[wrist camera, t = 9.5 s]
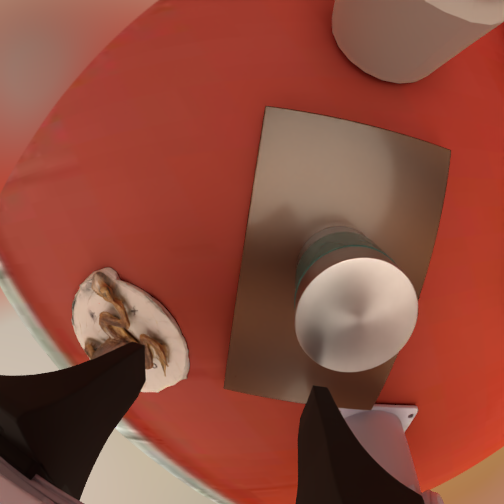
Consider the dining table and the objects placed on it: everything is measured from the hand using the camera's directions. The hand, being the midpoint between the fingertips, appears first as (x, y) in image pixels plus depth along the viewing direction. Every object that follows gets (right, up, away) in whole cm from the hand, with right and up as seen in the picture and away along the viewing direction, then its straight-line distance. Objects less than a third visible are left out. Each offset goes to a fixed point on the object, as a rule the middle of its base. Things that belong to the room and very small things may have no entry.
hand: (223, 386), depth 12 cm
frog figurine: (-9, -2, +12) cm, 15 cm away
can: (+10, +20, +3) cm, 22 cm away
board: (+6, +4, +8) cm, 11 cm away
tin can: (+6, +5, +6) cm, 10 cm away
